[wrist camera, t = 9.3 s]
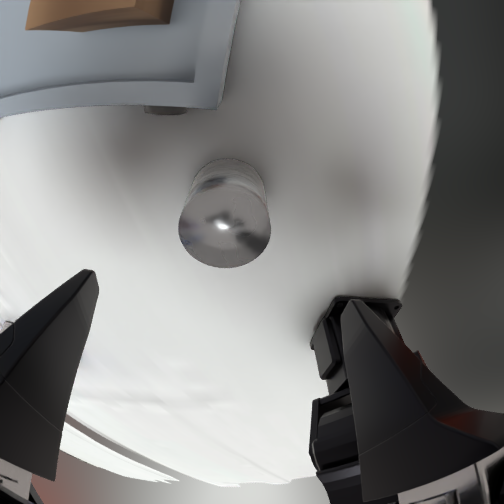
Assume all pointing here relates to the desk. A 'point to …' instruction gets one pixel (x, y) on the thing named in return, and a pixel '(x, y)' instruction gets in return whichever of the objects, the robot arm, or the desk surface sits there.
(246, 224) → the steel cylinder
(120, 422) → the desk surface
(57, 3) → the walnut block
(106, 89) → the tray
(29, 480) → the robot arm
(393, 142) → the desk surface
